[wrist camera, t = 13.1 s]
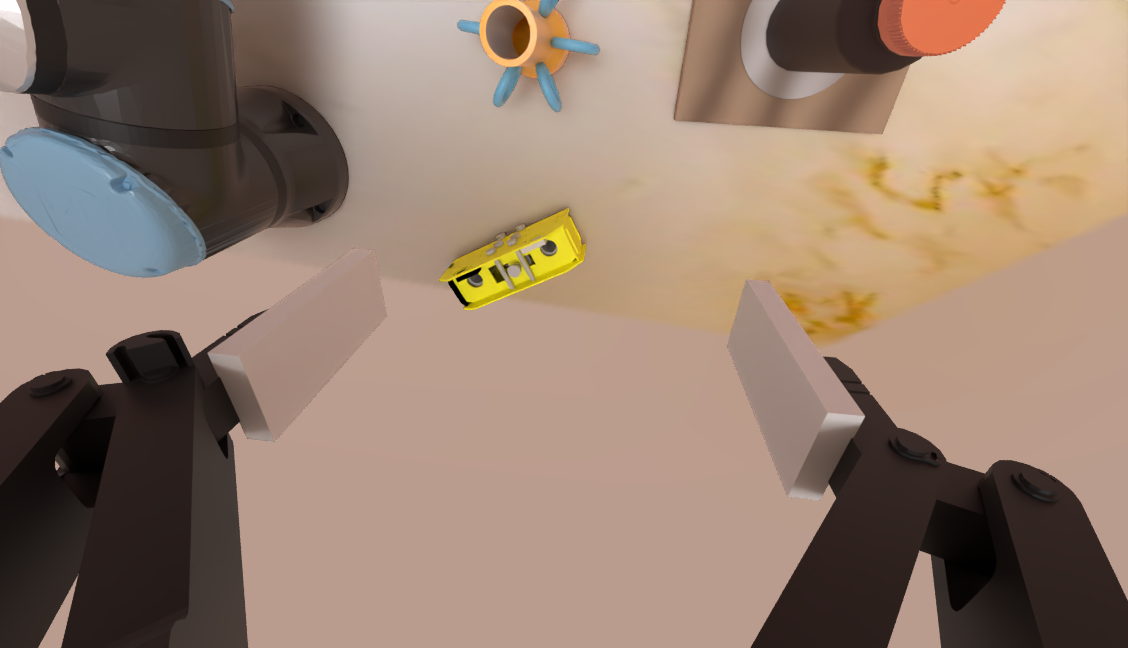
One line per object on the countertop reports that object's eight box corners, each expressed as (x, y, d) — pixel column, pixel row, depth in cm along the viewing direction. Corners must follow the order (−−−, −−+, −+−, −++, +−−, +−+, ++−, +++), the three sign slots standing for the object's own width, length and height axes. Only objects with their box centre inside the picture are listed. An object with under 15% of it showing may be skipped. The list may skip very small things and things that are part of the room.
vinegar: (837, 68, 40) (1003, 70, 23) (759, 74, 41) (862, 82, 24) (856, -26, 36) (1069, -106, 19) (770, -17, 37) (901, -86, 20)
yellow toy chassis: (567, 202, 51) (559, 224, 44) (587, 244, 53) (583, 272, 46) (454, 254, 56) (431, 282, 48) (478, 291, 58) (458, 322, 51)
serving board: (673, 118, 45) (675, 120, 43) (708, -91, 37) (712, -98, 35) (874, 132, 44) (884, 134, 42) (957, -81, 35) (973, -88, 34)
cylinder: (613, 81, 44) (612, 89, 31) (522, 127, 47) (487, 151, 34) (562, -63, 39) (536, -125, 26) (464, -1, 42) (396, -29, 29)
